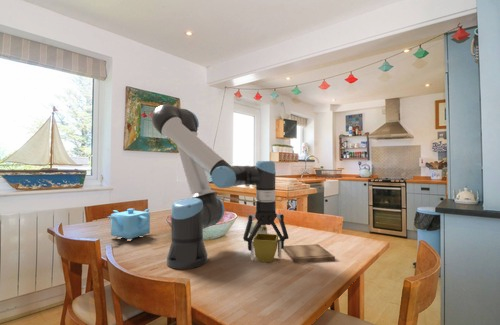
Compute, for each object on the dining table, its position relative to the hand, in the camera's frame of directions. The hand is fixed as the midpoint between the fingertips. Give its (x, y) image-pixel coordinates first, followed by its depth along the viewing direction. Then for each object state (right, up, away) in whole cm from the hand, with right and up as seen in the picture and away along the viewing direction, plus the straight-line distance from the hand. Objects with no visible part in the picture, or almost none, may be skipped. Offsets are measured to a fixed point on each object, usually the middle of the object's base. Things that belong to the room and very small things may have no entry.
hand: (265, 257), depth 103 cm
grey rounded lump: (-2, -1, +37) cm, 37 cm away
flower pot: (0, -1, 0) cm, 1 cm away
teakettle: (-68, -1, +32) cm, 75 cm away
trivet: (+17, -1, +6) cm, 18 cm away
